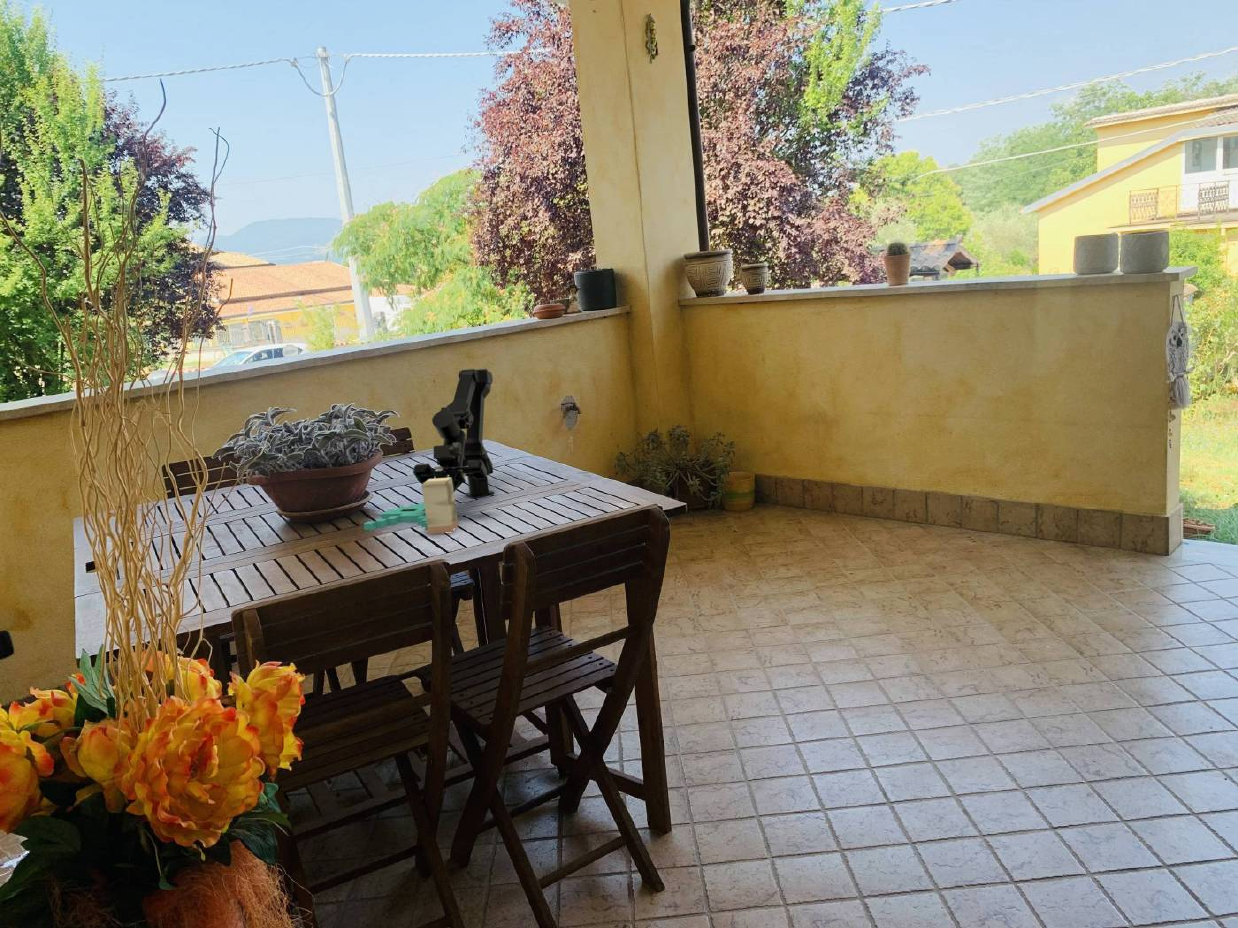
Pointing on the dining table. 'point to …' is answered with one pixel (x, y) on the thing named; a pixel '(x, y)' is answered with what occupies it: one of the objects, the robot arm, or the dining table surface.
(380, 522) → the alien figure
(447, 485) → the maple block
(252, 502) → the dining table surface
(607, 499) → the dining table surface
